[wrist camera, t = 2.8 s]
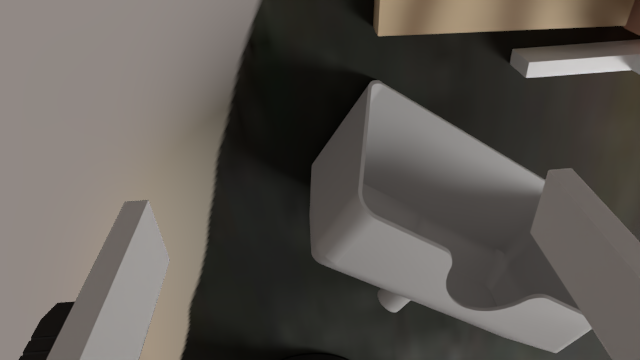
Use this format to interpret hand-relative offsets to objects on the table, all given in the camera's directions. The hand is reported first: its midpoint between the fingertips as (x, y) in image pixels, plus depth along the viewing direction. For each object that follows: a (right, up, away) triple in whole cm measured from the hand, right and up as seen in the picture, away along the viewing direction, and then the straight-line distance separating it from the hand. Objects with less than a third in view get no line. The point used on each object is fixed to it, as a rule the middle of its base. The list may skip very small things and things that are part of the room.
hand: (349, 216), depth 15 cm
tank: (+9, -1, +29) cm, 30 cm away
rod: (+12, +14, +18) cm, 26 cm away
